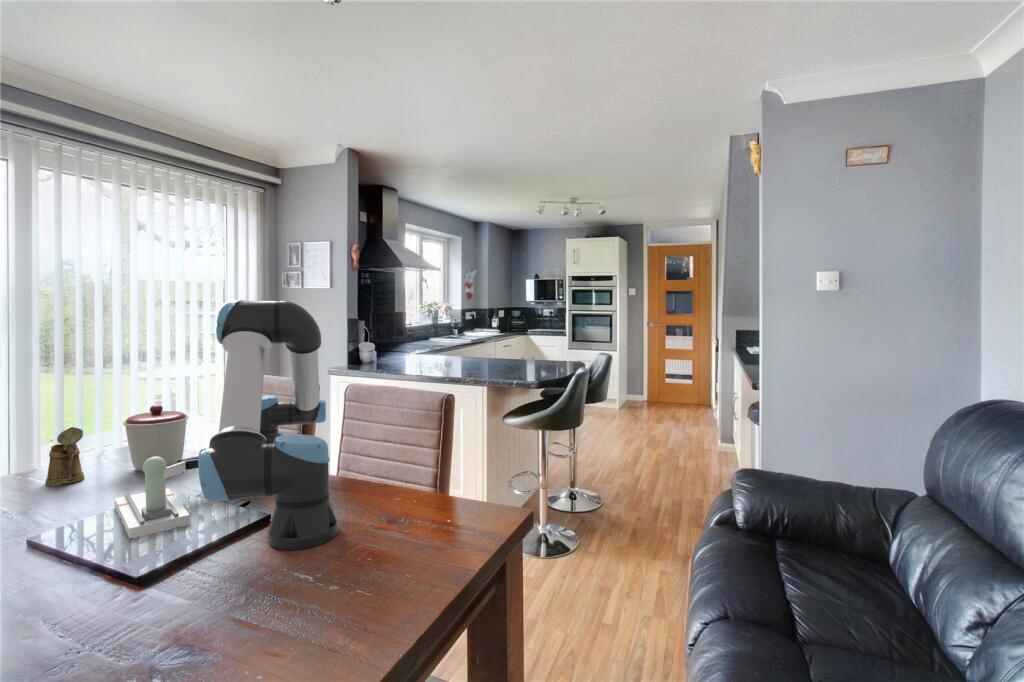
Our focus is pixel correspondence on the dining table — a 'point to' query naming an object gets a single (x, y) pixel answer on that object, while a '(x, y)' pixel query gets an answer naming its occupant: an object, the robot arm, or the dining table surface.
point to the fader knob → (155, 489)
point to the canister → (156, 436)
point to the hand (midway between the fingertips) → (185, 475)
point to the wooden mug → (65, 459)
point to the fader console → (138, 526)
